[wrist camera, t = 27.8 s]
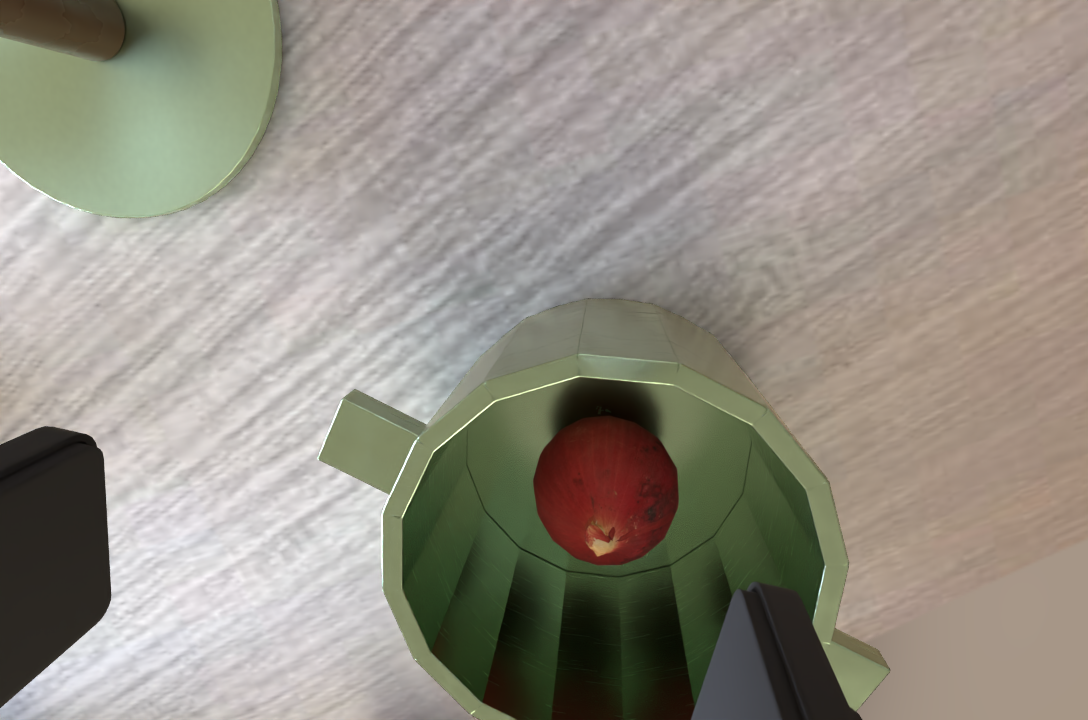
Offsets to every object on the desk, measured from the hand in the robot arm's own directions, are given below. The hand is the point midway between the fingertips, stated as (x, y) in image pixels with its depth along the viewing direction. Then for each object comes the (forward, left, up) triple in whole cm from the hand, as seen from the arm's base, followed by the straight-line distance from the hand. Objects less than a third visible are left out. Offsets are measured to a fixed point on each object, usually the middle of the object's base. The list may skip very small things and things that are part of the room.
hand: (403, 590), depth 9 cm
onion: (+2, +6, -19) cm, 20 cm away
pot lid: (+3, -22, -19) cm, 29 cm away
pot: (+3, +6, -19) cm, 20 cm away
